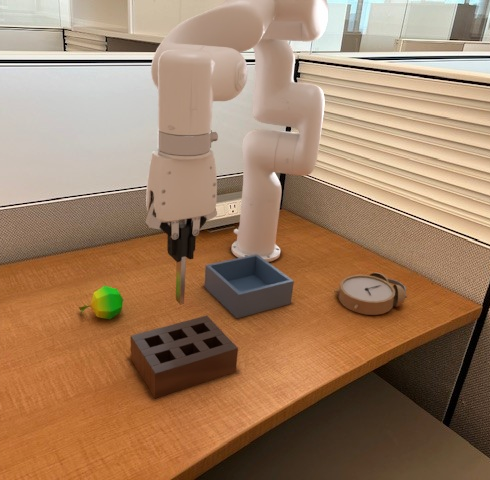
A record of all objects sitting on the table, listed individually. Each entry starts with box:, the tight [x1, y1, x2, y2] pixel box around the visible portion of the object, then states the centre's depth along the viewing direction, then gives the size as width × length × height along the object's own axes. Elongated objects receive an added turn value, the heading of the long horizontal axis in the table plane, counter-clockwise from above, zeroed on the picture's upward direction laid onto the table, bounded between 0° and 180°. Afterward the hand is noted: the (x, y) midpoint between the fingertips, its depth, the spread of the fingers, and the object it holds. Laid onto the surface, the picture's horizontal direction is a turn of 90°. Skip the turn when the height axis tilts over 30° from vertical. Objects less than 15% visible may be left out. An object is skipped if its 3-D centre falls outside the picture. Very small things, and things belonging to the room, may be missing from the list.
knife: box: [175, 221, 189, 306], centre depth 77 cm, size 2×1×14 cm, turn 27°
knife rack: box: [130, 315, 239, 399], centre depth 82 cm, size 11×15×5 cm
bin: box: [203, 254, 295, 319], centre depth 103 cm, size 14×14×6 cm
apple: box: [78, 285, 124, 320], centre depth 94 cm, size 7×6×9 cm
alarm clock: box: [333, 271, 408, 316], centre depth 104 cm, size 11×5×15 cm
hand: (181, 256), depth 76 cm, fingers closed on knife, 1 cm apart
